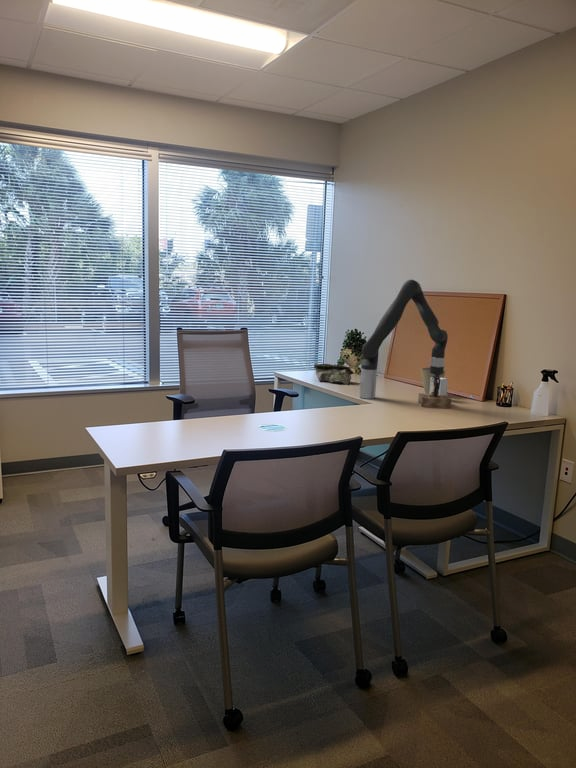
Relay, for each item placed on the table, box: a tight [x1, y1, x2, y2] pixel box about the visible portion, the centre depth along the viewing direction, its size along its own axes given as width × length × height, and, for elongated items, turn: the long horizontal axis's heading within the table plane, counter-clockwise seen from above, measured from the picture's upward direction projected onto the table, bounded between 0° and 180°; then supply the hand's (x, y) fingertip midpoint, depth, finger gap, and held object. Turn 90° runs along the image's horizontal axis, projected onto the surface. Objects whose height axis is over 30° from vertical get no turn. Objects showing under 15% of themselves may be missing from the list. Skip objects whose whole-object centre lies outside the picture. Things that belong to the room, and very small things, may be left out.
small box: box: [429, 377, 448, 396], centre depth 344 cm, size 8×6×13 cm
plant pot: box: [420, 366, 446, 394], centre depth 360 cm, size 15×15×16 cm
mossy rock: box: [313, 363, 355, 385], centre depth 391 cm, size 28×13×15 cm
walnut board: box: [417, 393, 452, 409], centre depth 327 cm, size 16×14×5 cm
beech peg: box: [431, 383, 439, 397], centre depth 326 cm, size 4×4×10 cm
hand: (434, 395), depth 326 cm, fingers closed on beech peg, 4 cm apart
